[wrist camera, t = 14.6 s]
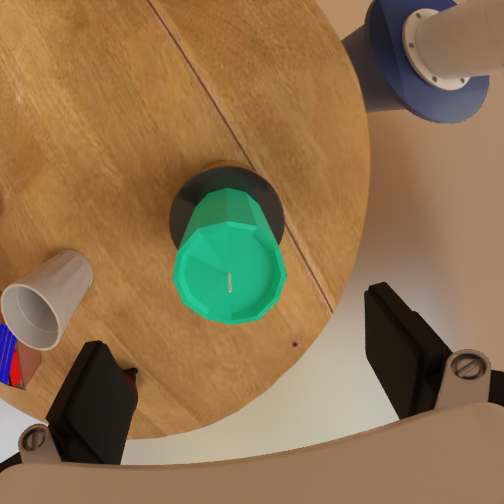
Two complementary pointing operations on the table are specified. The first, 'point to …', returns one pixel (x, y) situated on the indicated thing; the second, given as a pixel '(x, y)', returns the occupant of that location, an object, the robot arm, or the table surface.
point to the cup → (46, 299)
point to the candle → (229, 260)
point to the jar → (220, 178)
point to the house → (16, 358)
